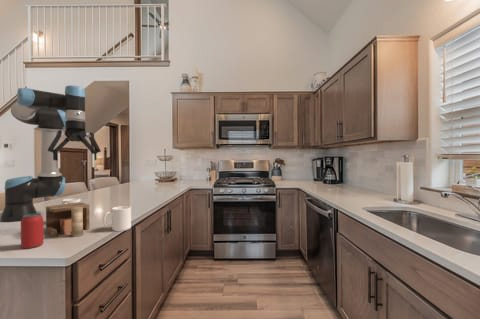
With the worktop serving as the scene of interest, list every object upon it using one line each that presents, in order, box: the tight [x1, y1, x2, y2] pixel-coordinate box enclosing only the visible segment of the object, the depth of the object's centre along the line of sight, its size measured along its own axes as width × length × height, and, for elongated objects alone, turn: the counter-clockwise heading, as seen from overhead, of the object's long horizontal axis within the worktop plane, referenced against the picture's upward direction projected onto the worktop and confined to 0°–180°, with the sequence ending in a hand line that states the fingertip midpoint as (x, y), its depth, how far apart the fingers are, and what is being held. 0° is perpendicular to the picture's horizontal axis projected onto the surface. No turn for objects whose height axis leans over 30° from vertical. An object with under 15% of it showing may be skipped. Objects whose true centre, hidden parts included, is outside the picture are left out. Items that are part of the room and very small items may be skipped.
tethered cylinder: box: [59, 207, 84, 238], centre depth 110 cm, size 14×6×12 cm, turn 52°
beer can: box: [20, 213, 44, 249], centre depth 94 cm, size 7×7×12 cm
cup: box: [102, 205, 132, 232], centre depth 115 cm, size 8×12×10 cm
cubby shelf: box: [45, 202, 90, 238], centre depth 114 cm, size 11×14×12 cm
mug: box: [61, 197, 81, 205], centre depth 127 cm, size 12×8×12 cm
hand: (76, 167), depth 110 cm, fingers open, 13 cm apart
